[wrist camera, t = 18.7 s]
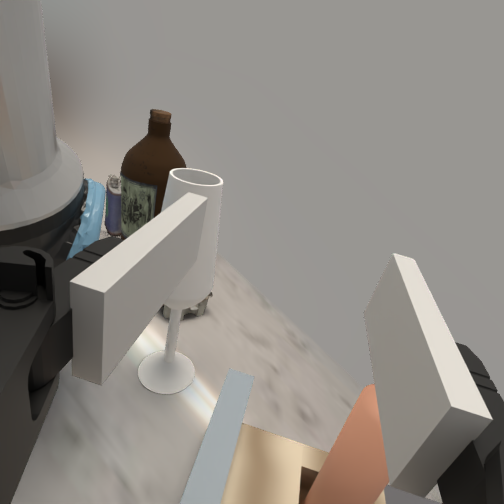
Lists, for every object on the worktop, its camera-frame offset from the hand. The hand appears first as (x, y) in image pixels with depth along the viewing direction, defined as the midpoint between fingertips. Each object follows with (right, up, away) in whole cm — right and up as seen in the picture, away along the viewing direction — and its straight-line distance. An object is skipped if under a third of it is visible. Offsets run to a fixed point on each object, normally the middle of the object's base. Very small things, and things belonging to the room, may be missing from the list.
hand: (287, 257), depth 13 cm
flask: (-30, +5, +57) cm, 65 cm away
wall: (-6, -21, +15) cm, 26 cm away
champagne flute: (-11, -14, +28) cm, 34 cm away
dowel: (+3, -23, +14) cm, 27 cm away
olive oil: (-21, 0, +51) cm, 55 cm away
